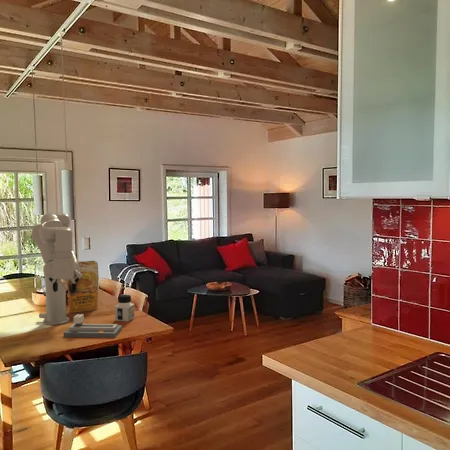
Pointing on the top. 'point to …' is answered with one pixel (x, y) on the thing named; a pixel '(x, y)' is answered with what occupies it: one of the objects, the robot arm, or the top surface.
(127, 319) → the container
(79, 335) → the console
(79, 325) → the fader
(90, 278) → the pancake mix bag
